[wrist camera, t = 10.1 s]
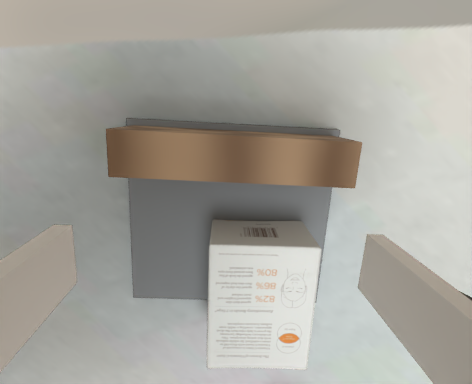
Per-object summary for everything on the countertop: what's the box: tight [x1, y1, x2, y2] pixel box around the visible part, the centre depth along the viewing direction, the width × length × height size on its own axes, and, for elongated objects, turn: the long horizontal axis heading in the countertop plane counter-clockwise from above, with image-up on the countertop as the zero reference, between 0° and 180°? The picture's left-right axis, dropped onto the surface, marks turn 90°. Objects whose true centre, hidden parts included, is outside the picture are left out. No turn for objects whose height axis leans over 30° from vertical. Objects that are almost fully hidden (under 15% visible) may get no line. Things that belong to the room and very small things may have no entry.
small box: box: [207, 219, 321, 370], centre depth 24 cm, size 8×6×10 cm
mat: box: [126, 118, 340, 303], centre depth 26 cm, size 17×16×1 cm
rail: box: [106, 125, 362, 188], centre depth 22 cm, size 16×3×6 cm, turn 87°
